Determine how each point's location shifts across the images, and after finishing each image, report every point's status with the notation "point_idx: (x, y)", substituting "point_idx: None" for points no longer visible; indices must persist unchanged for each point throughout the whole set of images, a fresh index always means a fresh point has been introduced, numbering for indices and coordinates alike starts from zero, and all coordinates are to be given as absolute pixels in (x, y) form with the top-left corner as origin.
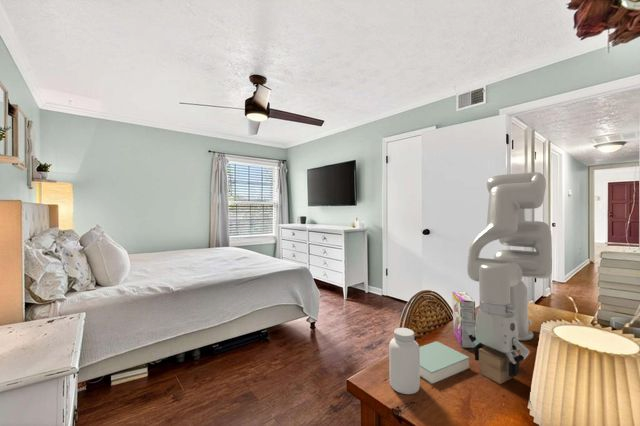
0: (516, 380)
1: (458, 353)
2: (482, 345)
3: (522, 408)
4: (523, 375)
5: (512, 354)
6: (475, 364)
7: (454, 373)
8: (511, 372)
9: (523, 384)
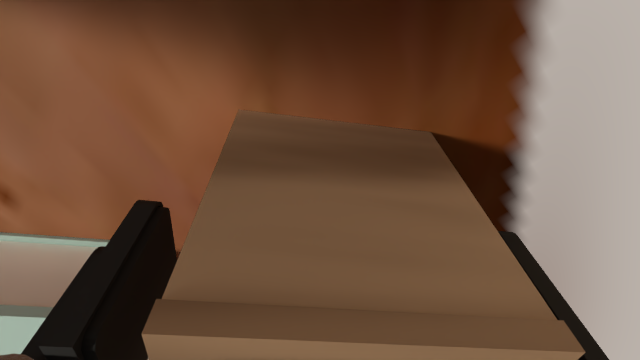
0: (460, 150)
1: (23, 331)
2: (75, 354)
3: None
4: (508, 10)
5: (562, 336)
6: (135, 172)
7: None
8: None
9: (509, 163)
